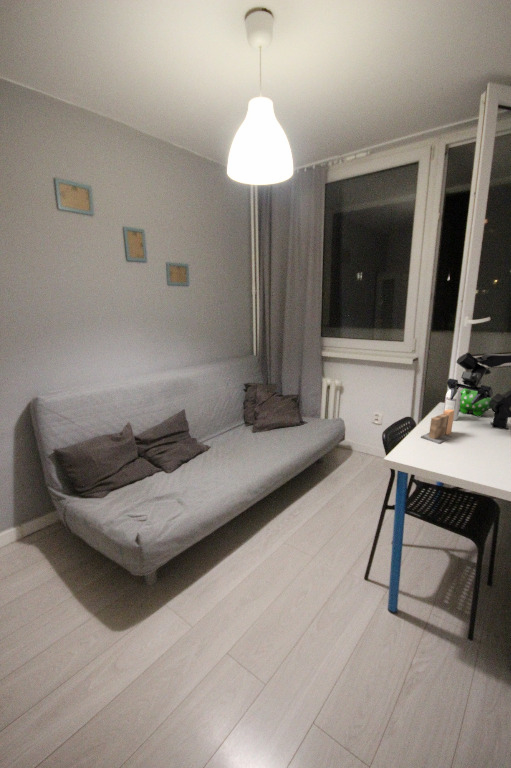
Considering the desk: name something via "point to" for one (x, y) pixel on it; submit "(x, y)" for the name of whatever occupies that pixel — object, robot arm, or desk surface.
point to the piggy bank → (476, 408)
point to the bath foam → (453, 403)
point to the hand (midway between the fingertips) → (461, 401)
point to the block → (449, 420)
